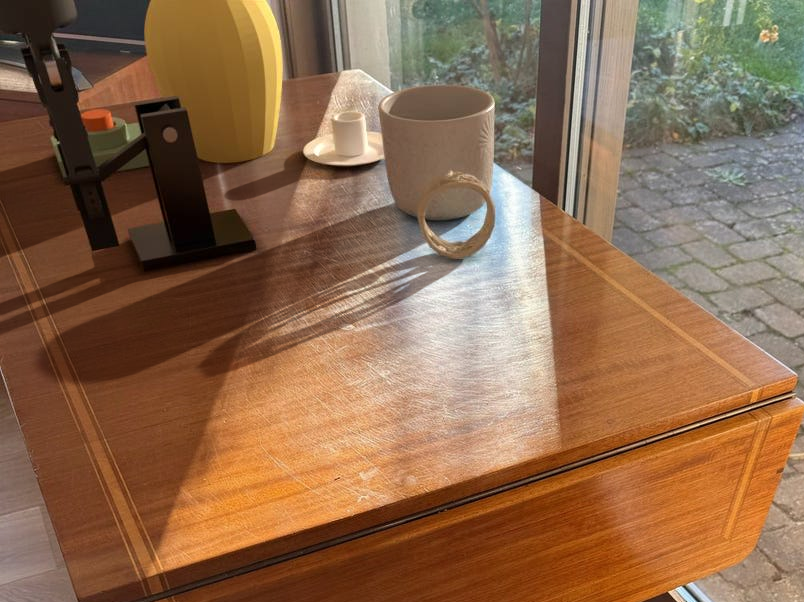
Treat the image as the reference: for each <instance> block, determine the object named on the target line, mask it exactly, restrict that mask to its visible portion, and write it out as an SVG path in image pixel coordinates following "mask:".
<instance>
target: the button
mask: <svg viewBox="0 0 804 602" xmlns="http://www.w3.org/2000/svg"><path fill="white" fill-rule="evenodd" d="M80 114H81V118H82V121H83V124H84V126H85V127H86V130H87V131H96V132H97V131H103V130H107V129H110V128H113V127H114V124H113V120H112V117H113V116H112V113H111V111H110V110H108V109H103V108H101V109H99V108H98V109H90V110H86V111H84V112H83V113H80Z"/></svg>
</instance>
